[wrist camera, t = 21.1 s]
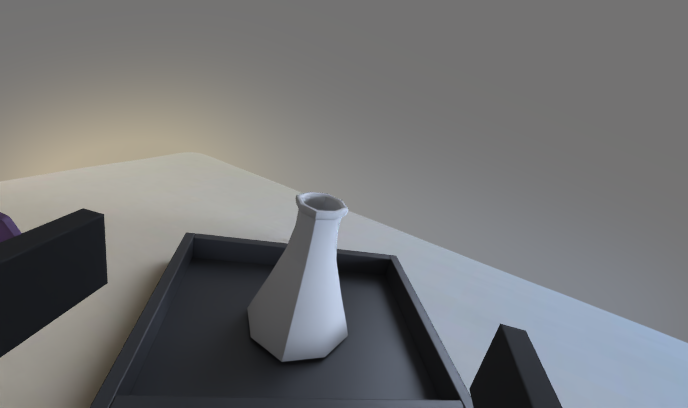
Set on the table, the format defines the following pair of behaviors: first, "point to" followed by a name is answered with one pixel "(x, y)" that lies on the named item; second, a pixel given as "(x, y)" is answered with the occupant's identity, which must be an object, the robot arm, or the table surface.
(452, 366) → the foam tray
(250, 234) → the table surface
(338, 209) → the flask
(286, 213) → the table surface
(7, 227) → the purple ball figure frame
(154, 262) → the table surface
